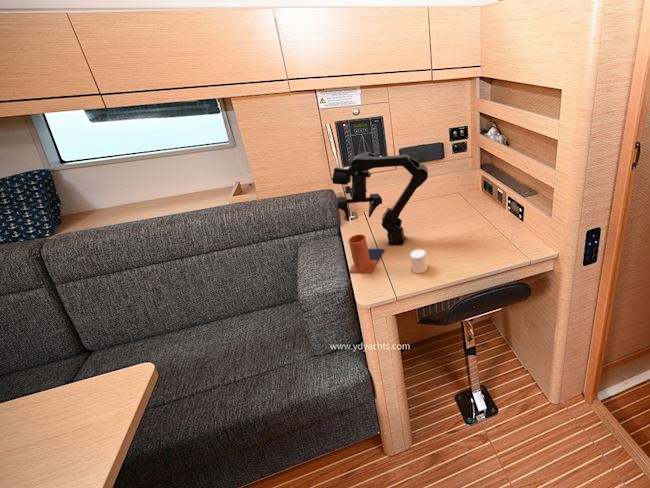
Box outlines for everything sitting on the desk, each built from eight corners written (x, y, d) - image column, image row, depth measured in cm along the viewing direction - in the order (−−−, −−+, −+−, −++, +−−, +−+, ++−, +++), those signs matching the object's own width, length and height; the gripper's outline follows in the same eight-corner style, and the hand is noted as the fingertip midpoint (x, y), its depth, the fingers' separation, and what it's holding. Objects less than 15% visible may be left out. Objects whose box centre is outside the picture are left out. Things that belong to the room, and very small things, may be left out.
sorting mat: (384, 249, 145) (383, 249, 145) (371, 272, 130) (370, 272, 130) (364, 249, 146) (364, 249, 146) (349, 272, 132) (349, 271, 131)
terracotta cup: (359, 261, 137) (353, 234, 132) (373, 262, 136) (368, 234, 131) (352, 271, 132) (345, 242, 127) (367, 271, 130) (360, 243, 125)
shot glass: (421, 261, 134) (419, 246, 132) (432, 267, 130) (430, 252, 127) (407, 269, 130) (405, 254, 127) (419, 276, 125) (416, 260, 123)
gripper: (375, 176, 150) (374, 208, 156) (332, 180, 141) (332, 213, 147) (383, 186, 141) (381, 218, 147) (337, 190, 132) (338, 224, 138)
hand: (358, 218), depth 145 cm, fingers open, 9 cm apart
